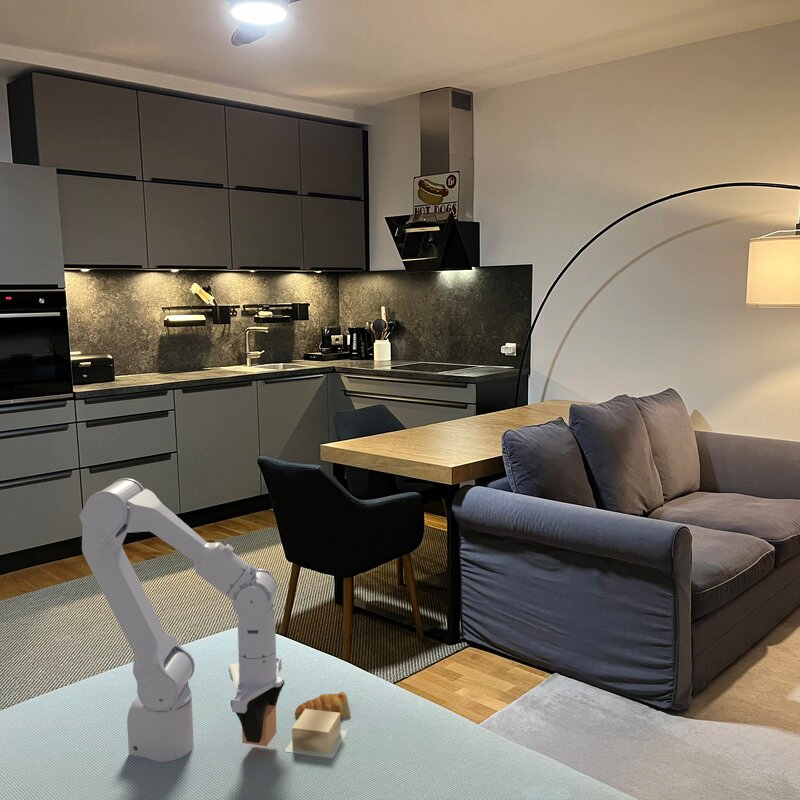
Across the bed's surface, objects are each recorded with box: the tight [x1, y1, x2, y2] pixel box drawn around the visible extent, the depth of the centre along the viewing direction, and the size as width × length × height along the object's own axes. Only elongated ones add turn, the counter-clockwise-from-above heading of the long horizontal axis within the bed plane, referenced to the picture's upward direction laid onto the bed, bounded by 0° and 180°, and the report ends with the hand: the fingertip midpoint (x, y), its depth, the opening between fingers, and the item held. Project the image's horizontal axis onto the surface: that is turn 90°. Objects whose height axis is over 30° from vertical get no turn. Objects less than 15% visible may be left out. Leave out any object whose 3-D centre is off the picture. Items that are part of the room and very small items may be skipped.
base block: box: [291, 709, 342, 753], centre depth 126 cm, size 6×6×4 cm
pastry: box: [294, 691, 351, 720], centre depth 135 cm, size 9×7×4 cm
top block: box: [241, 705, 277, 747], centre depth 124 cm, size 4×4×4 cm
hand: (259, 733), depth 124 cm, fingers closed on top block, 4 cm apart
